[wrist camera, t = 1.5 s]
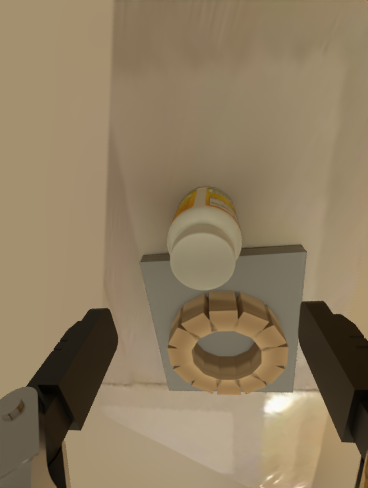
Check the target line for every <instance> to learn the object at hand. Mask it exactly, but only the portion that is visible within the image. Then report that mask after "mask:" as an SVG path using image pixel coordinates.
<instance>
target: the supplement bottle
mask: <svg viewBox="0 0 368 488" xmlns="http://www.w3.org/2000/svg"><path fill="white" fill-rule="evenodd" d="M167 248H168V252H169V254H170V266H171V269H172V272H173V274H174V275H175V277H176V278H177V279H178V280H179V281H180V282H181V283H182V284H184V285H185V286H187V287H190V288H192V289H196V290H211V289H215V288H217V287H220V286H221V285H223V284H224V283H226V282H227V281H228V280H229V279H230V277H231V276H232V274H233V272H234V269H235V265H236V260H237V259H238V257H239V255H240V252H241V248H242V234H241V230H240V227H239V223H238V220H237V216H236V213H235V209H234V206H233V204H232V202H231V200H230V198H229V197H228V196H227V195H226V194H225V193H223V192H222V191H220V190H218V189H216V188H212V187H201V188H198V189H195V190H193V191H191V192H190V193H188V194H187V195H186V196H185V197H184V199H183V200H182V202H181V203H180V206H179V208H178V210H177V212H176V215H175V217H174V219H173V221H172V223H171V226H170V228H169V231H168V234H167Z"/></svg>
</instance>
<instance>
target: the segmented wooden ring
mask: <svg viewBox="0 0 368 488" xmlns="http://www.w3.org/2000/svg"><path fill="white" fill-rule="evenodd" d="M217 331H235V332H238V333H240V334H243V335H245V336H248V337H250V338H252V339H253V340H254V341H255V342H254V344H253V345H252V346H251V347H250V349H249V350H248V351H246V352H243V353H241V354H239V355H236V356H216V355H213V354H211V353H208V352H206V351H204V350H203V349H202V348H201V347H200V346H199V345H198V344H197V341H198V340H199V339H200V338H202V337H204V336H206V335H209V334H211V333H213V332H217ZM167 349H168V354H169V359H170V364H171V366H174V367H173V370H174V371H175V372H176V373H177V374H178V375H179V376H180V377H181V378H182V379H183V380H185V381H186V382H187V383H189V382H192V385H191V386H194V387H196V388H199V389H202V390H204V391H207V392H210V393H213V392H214V391H215V389H216V388H217V394H223V395H241V389H242V390H243V391H244V392H245V393H246V394H247V393H250V392H253V391H256V390H259V389H262V388H265V387H267V384H266V382H267V383H270V384H272V383H273V382H274V381H275V380H276V379H277V378H278V377H279V375H280V374H281V373H282V372H283V371H284V370H285V368H284V366H287V359H288V345H287V341H286V339H285V336H284V333H283V330H282V328H281V325H280V322H279V320H278V319H277V317H276V316H275V315H274V313H273V312H272V311H271V309H270V308H269V307H268V305H267V304H266V305H264V304H263V301H261V300H259V299H256V298H254V297H251V296H249V295H247V294H244V293H242V292H240V293H239V294H238V296H237V297H236V298H235V292H234V291H219V292H209V299H208V298H207V297H206V296H205V294H204V293H203V294H202V295H200V296H198V297H196V298H194V299H192V300H191V301H189V302H187V303H185V304H184V308H180V310H179V311H178V313H177V315H176V317H175V319H174V321H173V322H172V326H171V331H170V336H169V342H168V348H167Z"/></svg>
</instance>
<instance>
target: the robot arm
mask: <svg viewBox="0 0 368 488" xmlns="http://www.w3.org/2000/svg"><path fill="white" fill-rule="evenodd" d="M298 338H299V343H300V346H301V349H302V351H303V354H304V356H305V358H306V361H307V363H308V365H309V367H310V370H311V372H312V374H313V377H314V379H315V381H316V384H317V386H318V388H319V391H320V393H321V395H322V398H323V400H324V402H325V405H326V407H327V409H328V411H329V414H330V416H331V418H332V421H333V423H334V425H335V428H336V430H337V432H338V435H339V437H340V439H341V441H342V442H351V443H352V442H353V443H356V445H357V447H358V450H359V452H360V454H361V458H360V461H359V466H358V471H357V475H356V481H355V485H354V488H368V341H367V339H366V338H364V335H363V334H362V333H361V332H360V330H359V329H358V328H357V327H356V325H355V324H354V323H353V322H351V321H350V320H348V319H347V318H346V317H344V316H343V315H341V314H333V313H332V312H331V310H330V309H329V307H328V306H327V305H326V303H325V302H324V301H306V302H301V305H300V315H299V326H298ZM117 345H118V335H117V331H116V328H115V325H114V321H113V318H112V315H111V312H110V310H109V309H108V308H100V309H90V310H89V311H88V312H87V314H86V315H85V316H84V318H83V319H82V321H78V322H77V323H75V324H74V325H73V326H72V327H71V328H69V329H68V330H67V331H66V333H65V334H64V336H63V337H62V338H61V340H60V342H58V344H57V345H56V346H55V348H54V351H52V352H51V353H50V355H49V356H48V357H47V359H46V360H45V361H44V363H43V364H42V366H41V367H40V368H39V370H38V371H37V372H36V374H35V375H34V377H33V378H32V379H31V381H30V382H29V383H28V385H27V386H26V387H22V388H19V389H16V390H14V391H12V392H10V393H9V394H7V395H6V396H4V397H3V398H2V399H0V488H71V485H70V477H69V468H68V460H67V452H66V445H65V441H64V438H65V436H66V434H67V432H68V430H81V429H82V426H83V424H84V422H85V420H86V417H87V415H88V413H89V411H90V408H91V406H92V404H93V401H94V399H95V397H96V395H97V392H98V390H99V388H100V385H101V383H102V381H103V379H104V376H105V374H106V372H107V369H108V367H109V365H110V363H111V360H112V358H113V356H114V353H115V351H116V349H117Z"/></svg>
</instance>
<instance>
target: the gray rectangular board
mask: <svg viewBox="0 0 368 488" xmlns="http://www.w3.org/2000/svg"><path fill="white" fill-rule="evenodd" d="M306 255H307V251H306V250H305V249H304V248H303V247H302V245H292V246H278V247H263V248H248V249H241V252H240V255H239V257H238V259H237V260H236V265H235V269H234V272H233V274H232V276H231V277H230V279H229V280H228V281H227V282H226V283H224V284H223V285H221V286H220V287H217V288H215V289H211V290H196V289H192V288H190V287H187V286H185V285H184V284H182V283H181V282H180V281H179V280H178V279H177V278H176V277H175V275H174V274H173V272H172V269H171V266H170V254H159V255H144V256H143V257H142V259H141V261H140V266H141V270H142V275H143V279H144V283H145V288H146V292H147V297H148V301H149V305H150V310H151V314H152V318H153V323H154V327H155V331H156V336H157V340H158V344H159V349H160V353H161V358H162V362H163V366H164V371H165V375H166V379H167V384H168V388H169V391H204V390H202V389H199V388H196V387H194V386H191V385H192V382H189V383H187V382H186V381H185V380H183V379H182V378H181V377H180V376H179V375H178V374H177V373H176V372H175V371H174V370H173V367H174V366H171V364H170V359H169V354H168V349H167V348H168V342H169V336H170V331H171V326H172V322H173V321H174V319H175V317H176V315H177V313H178V311H179V310H180V308H184V304H185V303H187V302H189V301H191V300H192V299H194V298H196V297H198V296H200V295H202V294H203V293H204V294H205V296H206V297H207V298H208V299H209V292H219V291H234V292H235V298H236V297H237V296H238V294H239V293H240V292H242V293H244V294H247V295H249V296H251V297H254V298H256V299H259V300H261V301H263V304H264V305H266V304H267V305H268V307H269V308H270V309H271V311H272V312H273V313H274V315H275V316H276V317H277V319H278V320H279V322H280V325H281V328H282V330H283V333H284V336H285V339H286V341H287V345H288V359H287V366H284V368H285V370H284V371H283V372H282V373H281V374H280V375H279V377H278V378H277V379H276V380H275V381H274V382H273V383H272V384H270V383H267V382H266V384H267V387H265V388H262V389H259V390H256V391H253V392H293V386H294V376H295V366H296V356H297V346H298V326H299V315H300V305H301V302H302V295H303V285H304V275H305V265H306ZM254 342H255V341H254V340H253V339H252V338H250V337H248V336H245V335H243V334H240V333H238V332H235V331H217V332H213V333H211V334H209V335H206V336H204V337H202V338H200V339H199V340H198V341H197V344H198V345H199V346H200V347H201V348H202V349H203V350H204V351H206V352H208V353H211V354H213V355H216V356H236V355H239V354H241V353H243V352H246V351H248V350H249V349H250V347H251V346H252V345H253V344H254ZM215 391H217V388H216V389H215ZM241 392H244V391H243V390H242V389H241Z"/></svg>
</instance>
